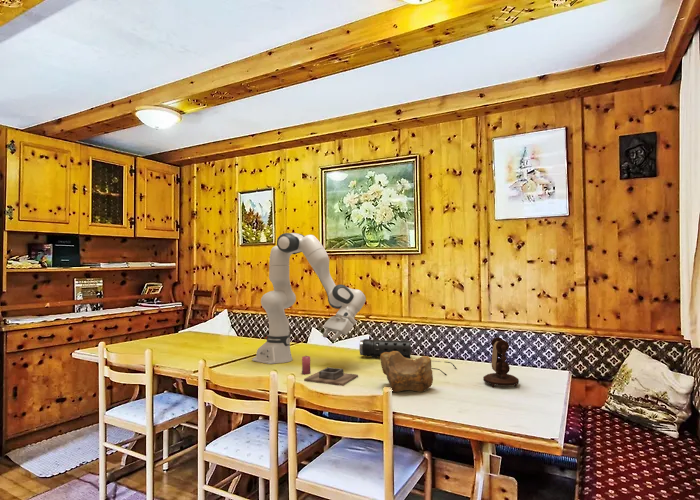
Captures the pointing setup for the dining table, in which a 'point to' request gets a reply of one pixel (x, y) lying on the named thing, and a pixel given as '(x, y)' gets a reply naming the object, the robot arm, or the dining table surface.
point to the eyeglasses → (440, 370)
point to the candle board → (331, 377)
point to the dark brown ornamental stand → (500, 365)
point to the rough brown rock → (407, 372)
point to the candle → (306, 365)
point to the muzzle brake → (384, 347)
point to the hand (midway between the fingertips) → (328, 337)
